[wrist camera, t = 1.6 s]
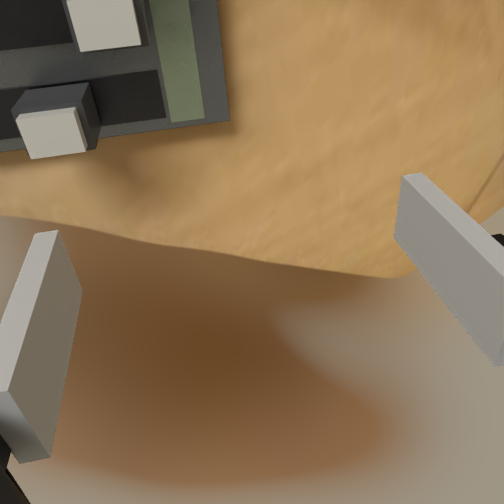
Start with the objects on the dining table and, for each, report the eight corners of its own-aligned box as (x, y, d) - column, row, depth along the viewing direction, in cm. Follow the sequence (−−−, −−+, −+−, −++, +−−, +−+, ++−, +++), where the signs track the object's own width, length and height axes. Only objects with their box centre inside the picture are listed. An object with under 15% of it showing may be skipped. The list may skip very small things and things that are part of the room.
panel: (-51, 151, 33) (-60, 161, 31) (-198, -142, 23) (-220, -147, 22) (226, 113, 35) (230, 121, 33) (195, -171, 25) (198, -176, 24)
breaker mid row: (85, 40, 28) (74, 58, 24) (70, -16, 27) (56, -5, 23) (149, 32, 29) (149, 49, 25) (139, -23, 27) (137, -14, 23)
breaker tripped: (42, 134, 31) (25, 165, 27) (25, 90, 29) (6, 115, 25) (101, 126, 32) (94, 155, 28) (88, 82, 30) (79, 106, 26)
